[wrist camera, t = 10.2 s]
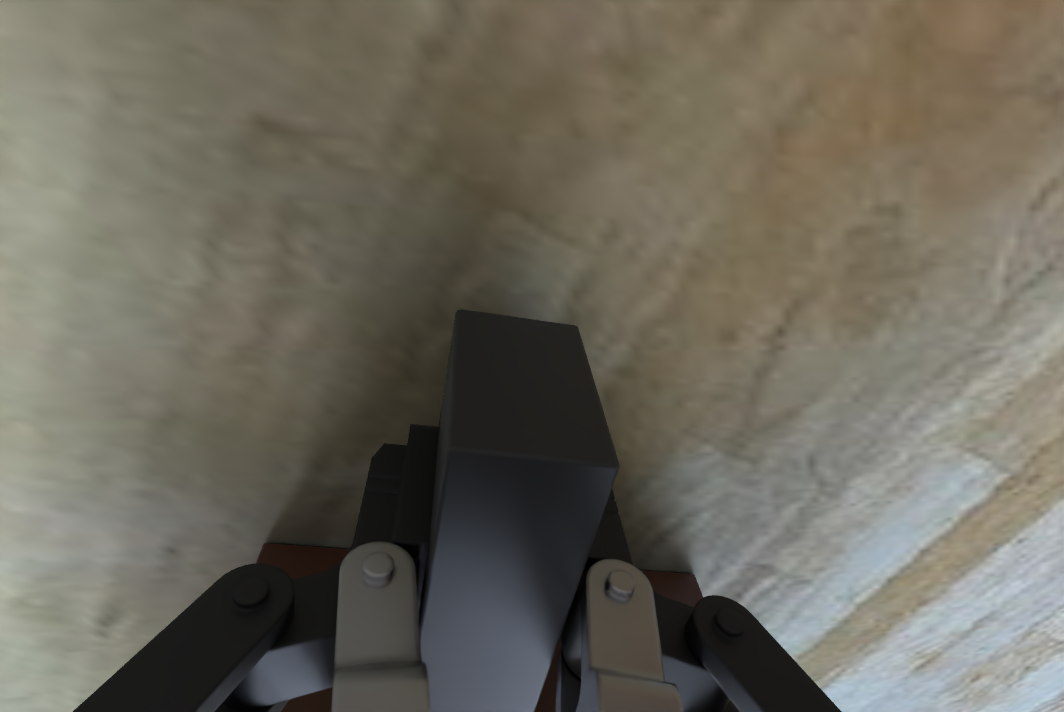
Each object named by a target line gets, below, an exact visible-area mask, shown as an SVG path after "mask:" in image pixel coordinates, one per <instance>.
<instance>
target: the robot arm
mask: <svg viewBox="0 0 1064 712" xmlns="http://www.w3.org/2000/svg"><path fill="white" fill-rule="evenodd" d="M438 434H439V427H435V426H426V425H417V424H410V430H409V437H408V443H407V446H406V445H396V444H386V443H384V444H383V446H382V447H381V448H380V449H379V450H378V451H377V452H376V453H375V454H374V456H373V457H372V459H371V463H370V468H369V472H368V478H367V481H366V486H365V492H364V495H363V499H362V504H361V508H360V513H359V517H358V522H357V526H356V531H355V535H354V540H353V544H352V547H351V549H350V551H349V552H348V554H347V555H346V556H345V558H344V559H343V560H341V561H340V562H339V563H338V564H336V565H335V566H334V567H332V568H330V569H328V570H326V571H323V572H321V573H317V574H313V575H308V576H303V577H299V578H294V579H291V578H290V576H289V575H288V574H287V573H286V572H285V571H284V570H282V569H281V568H279V567H276V566H274V565H269V564H261V563H260V564H249V565H245V566H241V567H238V568H236V569H234V570H231V571H230V572H228V573H226V574H225V575H224V576H222V577H221V578H220V579H219V580H217V581H216V582H215V583H214V584H213V585H212V586H211V587H210V588H209V589H208V590H206V591H205V592H204V593H203V594H202V595H201V596H200V597H199V598H198V599H196V600H195V601H194V602H193V603H192V604H191V605H190V606H189V607H188V608H187V609H185V610H184V611H183V612H182V613H181V614H180V615H179V616H178V617H177V618H176V619H174V620H173V621H172V622H171V623H170V624H169V625H168V626H167V627H166V628H165V629H163V630H162V631H161V632H160V633H159V634H158V635H157V636H156V637H155V638H154V639H152V640H151V641H150V642H149V643H148V644H147V645H146V646H145V647H144V648H142V649H141V650H140V651H139V652H138V653H137V654H136V655H135V656H134V657H133V658H131V659H130V660H129V661H128V662H127V663H126V664H125V665H124V666H123V667H122V668H120V669H119V670H118V671H117V672H116V673H115V674H114V675H113V676H112V677H111V678H109V679H108V680H107V681H106V682H105V683H104V684H103V685H102V686H101V687H100V688H98V689H97V690H96V691H95V692H94V693H93V694H92V695H91V696H90V697H88V698H87V699H86V700H85V701H84V702H83V703H82V704H81V705H80V706H79V707H77V708H76V709H75V710H74V711H73V712H281V710H282V709H283V708H284V707H285V705H286V704H287V702H288V701H289V699H293V698H296V697H300V696H303V695H307V694H310V693H314V692H317V691H320V690H324V689H327V688H331V687H333V692H332V710H331V712H431V706H430V693H429V680H428V671H427V666H426V663H425V662H422V656H421V644H420V629H419V615H418V612H419V606H420V599H421V593H422V587H423V580H424V574H425V567H426V561H427V555H428V548H429V540H430V528H431V516H432V505H433V493H434V481H435V470H436V458H437V446H438ZM614 498H615V497H614V494H613V490H612V489H611V492H610V495H609V498H608V501H607V504H606V506H605V509H604V512H603V515H602V518H601V521H600V524H599V527H598V530H597V532H596V535H595V538H594V541H593V544H592V547H591V550H590V553H589V556H588V558H587V561H586V564H585V567H584V570H583V573H582V576H581V579H580V582H579V584H578V587H577V590H576V593H575V596H574V599H573V602H572V605H571V608H570V611H569V613H568V616H567V619H566V622H565V625H564V628H563V631H562V634H561V643H562V646H561V649H560V652H559V655H558V658H557V672H556V712H739V711H740V712H841V711H840V710H839V709H838V707H837V706H836V705H835V704H834V703H833V702H832V701H831V700H830V699H829V698H828V697H827V695H826V694H825V693H824V692H823V691H822V690H821V689H820V688H819V687H818V686H817V685H816V684H815V682H814V681H813V680H812V679H811V678H810V677H809V676H808V675H807V674H806V673H805V672H804V670H803V669H802V668H801V667H800V666H799V665H798V664H797V663H796V662H795V661H794V660H793V659H792V657H791V656H790V655H789V654H788V653H787V652H786V651H785V650H784V649H783V648H782V647H781V645H780V644H779V643H778V642H777V641H776V640H775V639H774V638H773V637H772V636H771V635H770V634H769V632H768V631H767V630H766V629H765V628H764V627H763V626H762V625H761V624H760V623H759V622H758V620H757V619H756V618H755V617H754V616H753V615H752V614H751V613H750V612H749V611H748V610H747V609H746V608H744V607H743V606H742V605H740V604H739V603H737V602H736V601H734V600H731V599H729V598H726V597H723V596H715V595H712V596H706V597H703V598H702V599H700V600H699V601H698V602H697V603H696V605H695V607H692V606H689V605H686V604H683V603H681V602H678V601H675V600H672V599H670V598H667V597H665V596H662V595H660V594H659V593H657V592H655V591H654V590H653V589H652V586H651V584H650V582H649V580H648V579H647V577H646V576H645V575H644V574H643V573H642V572H641V571H640V570H639V569H637V568H636V567H635V566H633V563H632V560H631V556H630V552H629V549H628V545H627V541H626V538H625V534H624V530H623V527H622V523H621V519H620V516H619V515H618V508H617V505H616V501H614ZM730 700H731V701H732V702H733V703H732V702H731V701H730ZM733 704H734V705H735V706H736V707H737V708H736V707H735V706H734V705H733ZM737 709H738V710H739V711H738V710H737Z"/></svg>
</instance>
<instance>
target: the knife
mask: <svg viewBox="0 0 1064 712" xmlns="http://www.w3.org/2000/svg"><path fill="white" fill-rule="evenodd" d="M618 469H619V462H618V459H617V455H616V452H615V449H614V445H613V442H612V439H611V436H610V432H609V429H608V426H607V422H606V419H605V416H604V412H603V409H602V406H601V402H600V399H599V396H598V392H597V389H596V386H595V383H594V379H593V376H592V373H591V369H590V366H589V363H588V359H587V356H586V353H585V349H584V346H583V343H582V339H581V336H580V333H579V329H578V327H577V326H575V325H569V324H562V323H554V322H547V321H540V320H533V319H526V318H518V317H511V316H504V315H497V314H490V313H482V312H475V311H468V310H461V309H460V310H457V311H456V313H455V320H454V327H453V333H452V340H451V347H450V354H449V360H448V367H447V374H446V381H445V388H444V394H443V401H442V408H441V415H440V421H439V434H438V446H437V458H436V470H435V481H434V493H433V505H432V516H431V528H430V540H429V548H428V555H427V561H426V567H425V574H424V580H423V587H422V593H421V599H420V606H419V612H418V615H419V629H420V644H421V656H422V662H425V663H426V666H427V671H428V680H429V693H430V706H431V712H535V709H536V706H537V703H538V700H539V697H540V694H541V691H542V689H543V686H544V683H545V680H546V677H547V674H548V671H549V668H550V665H551V663H552V660H553V657H554V654H555V651H556V648H557V645H558V642H559V639H560V637H561V634H562V631H563V628H564V625H565V622H566V619H567V616H568V613H569V611H570V608H571V605H572V602H573V599H574V596H575V593H576V590H577V587H578V584H579V582H580V579H581V576H582V573H583V570H584V567H585V564H586V561H587V558H588V556H589V553H590V550H591V547H592V544H593V541H594V538H595V535H596V532H597V530H598V527H599V524H600V521H601V518H602V515H603V512H604V509H605V506H606V504H607V501H608V498H609V495H610V492H611V489H612V486H613V483H614V480H615V477H616V475H617V472H618Z"/></svg>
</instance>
